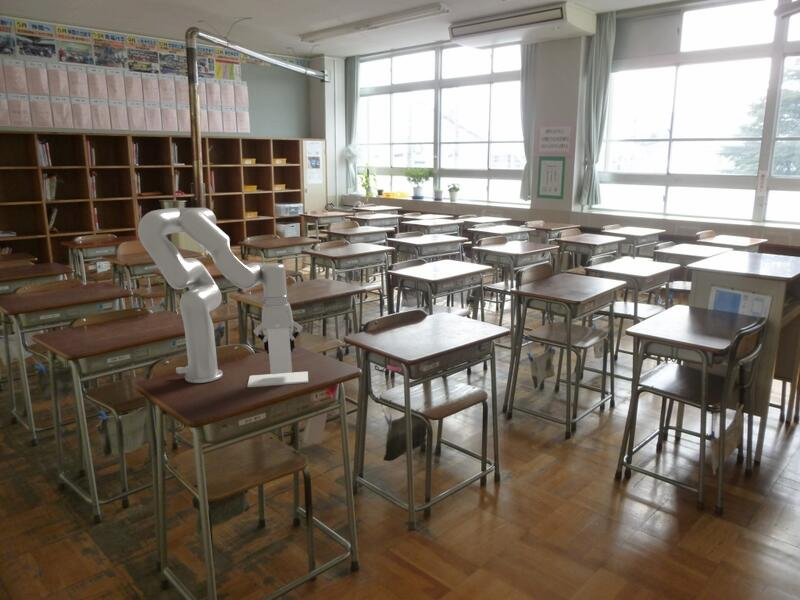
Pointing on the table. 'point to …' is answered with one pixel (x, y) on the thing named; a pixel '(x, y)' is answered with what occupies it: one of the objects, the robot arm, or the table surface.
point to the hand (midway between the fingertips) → (279, 351)
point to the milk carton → (279, 350)
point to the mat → (278, 379)
